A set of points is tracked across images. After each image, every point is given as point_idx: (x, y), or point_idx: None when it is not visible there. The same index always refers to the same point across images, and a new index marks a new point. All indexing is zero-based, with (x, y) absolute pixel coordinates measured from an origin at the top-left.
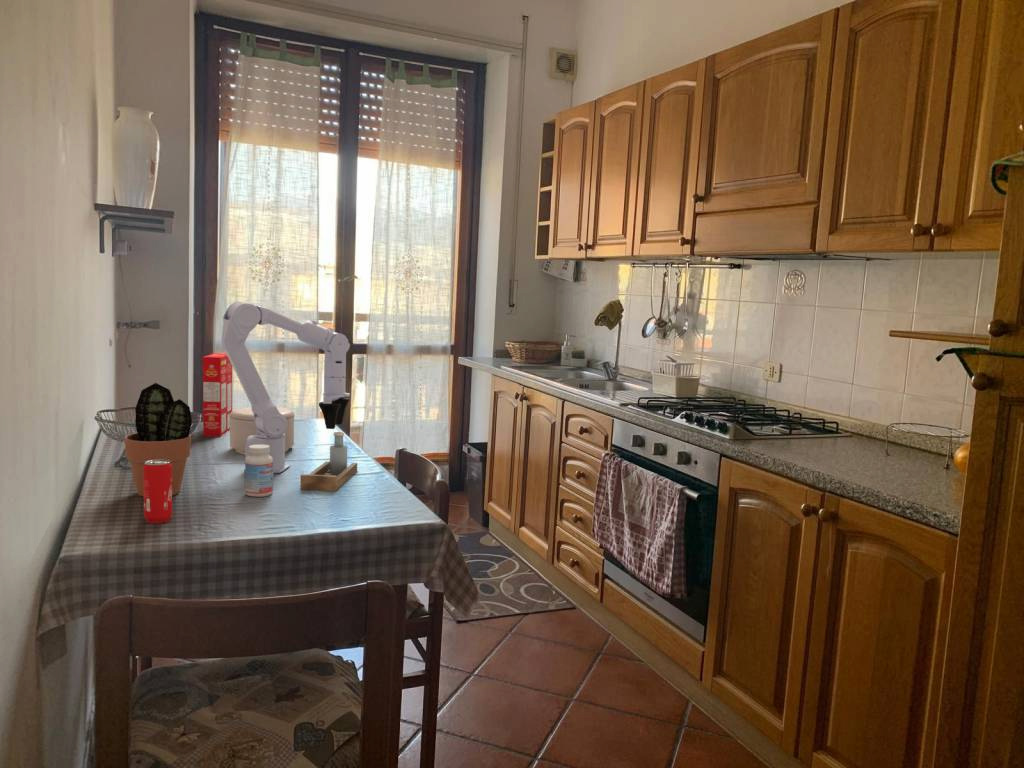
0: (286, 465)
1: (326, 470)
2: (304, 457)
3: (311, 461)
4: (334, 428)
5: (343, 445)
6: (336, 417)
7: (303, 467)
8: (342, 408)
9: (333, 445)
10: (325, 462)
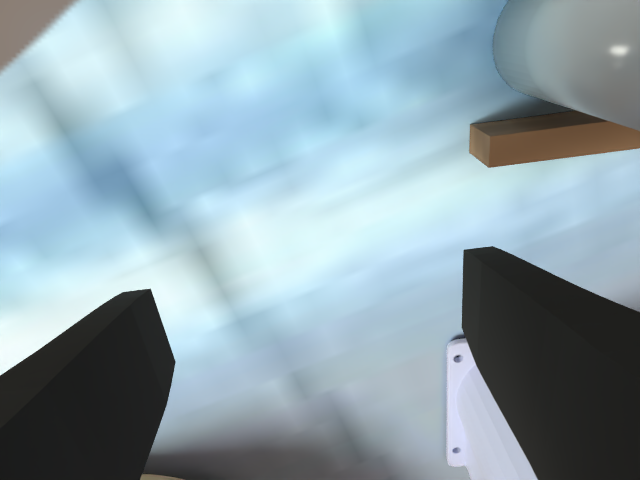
0: (469, 353)
1: (563, 115)
2: (213, 366)
3: (288, 303)
4: (471, 249)
5: (621, 19)
6: (572, 310)
7: (438, 282)
8: (9, 476)
9: (632, 120)
10: (520, 157)
